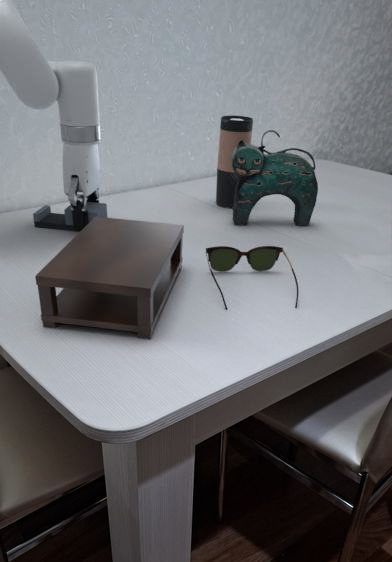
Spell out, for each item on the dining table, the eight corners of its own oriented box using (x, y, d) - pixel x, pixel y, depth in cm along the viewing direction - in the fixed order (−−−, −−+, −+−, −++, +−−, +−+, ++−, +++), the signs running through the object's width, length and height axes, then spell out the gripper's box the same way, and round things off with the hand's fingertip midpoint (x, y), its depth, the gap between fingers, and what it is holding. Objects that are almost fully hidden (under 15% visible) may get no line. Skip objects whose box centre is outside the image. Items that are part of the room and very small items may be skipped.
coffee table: (41, 326, 72) (35, 275, 68) (98, 258, 94) (95, 216, 90) (150, 340, 71) (150, 288, 66) (182, 267, 92) (183, 225, 88)
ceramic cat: (227, 226, 112) (235, 130, 102) (223, 217, 118) (231, 125, 107) (314, 228, 114) (331, 134, 103) (306, 219, 120) (321, 129, 109)
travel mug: (246, 201, 130) (254, 116, 119) (243, 210, 123) (252, 121, 113) (217, 198, 131) (222, 114, 120) (212, 206, 124) (218, 119, 114)
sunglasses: (279, 270, 93) (283, 245, 90) (303, 314, 82) (309, 287, 79) (202, 271, 91) (204, 246, 88) (216, 316, 80) (219, 289, 77)
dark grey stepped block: (34, 227, 106) (31, 206, 104) (46, 217, 112) (44, 197, 109) (98, 233, 105) (97, 212, 103) (107, 223, 110) (106, 203, 108)
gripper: (77, 125, 106) (83, 209, 115) (44, 140, 91) (54, 235, 101) (112, 128, 105) (115, 212, 115) (84, 143, 90) (91, 239, 100)
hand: (87, 222), depth 108 cm, fingers closed on dark grey stepped block, 6 cm apart
